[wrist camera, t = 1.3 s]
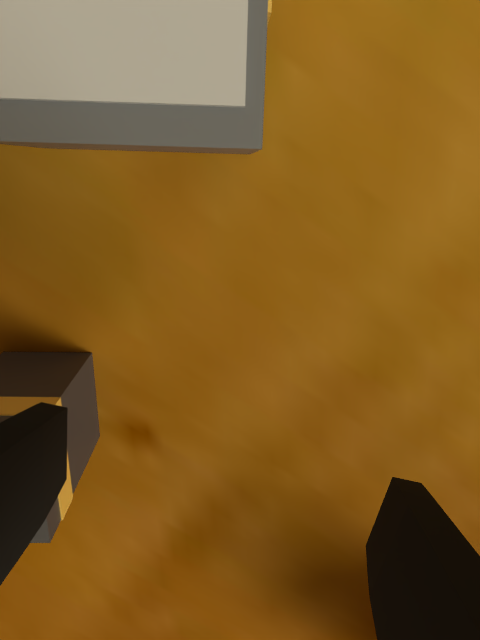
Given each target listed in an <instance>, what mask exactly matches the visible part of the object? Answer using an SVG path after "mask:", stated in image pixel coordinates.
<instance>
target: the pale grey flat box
mask: <svg viewBox="0 0 480 640" xmlns="http://www.w3.org/2000/svg"><path fill="white" fill-rule="evenodd" d="M271 7H272V0H0V144H7V145H18V146H29V147H39V148H57V149H91V150H125V151H159V152H194V153H228V154H252V153H254V152H256V151H259V150H261V149H262V138H263V114H264V89H265V64H266V40H267V25H268V22H269V18H270V15H271Z"/></svg>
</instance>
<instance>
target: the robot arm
mask: <svg viewBox="0 0 480 640" xmlns="http://www.w3.org/2000/svg"><path fill="white" fill-rule="evenodd" d="M67 414H68V408H67V407H62V406H58V405H53V404H48V403H44V402H40V403H38V404H36V405H34V406H32V407H30V408H28V409H26V410H24V411H22V412H20V413H18V414H16V415H14V416H12V417H10V418H8V419H6V420H4V421H2V422H1V423H0V585H1V584H2V582H3V581H4V579H5V578H6V577H7V575H8V574H9V572H10V571H11V569H12V568H13V567H14V565H15V564H16V562H17V561H18V559H19V558H20V556H21V555H22V554H23V552H24V551H25V549H26V548H27V546H28V545H29V543H30V542H31V540H32V539H33V537H34V536H35V535H36V533H37V532H38V530H39V529H40V527H41V526H42V524H43V523H44V521H45V519H46V517H47V516H48V514H49V512H50V510H51V508H52V506H53V505H54V503H55V501H56V499H57V497H58V495H59V493H60V491H61V489H62V487H63V485H64V483H65V481H66V479H67ZM366 554H367V571H368V583H369V595H370V601H371V607H372V613H373V618H374V624H375V629H376V635H377V640H480V556H479V555H478V553H477V552H476V551H475V550H474V548H473V547H472V546H471V545H470V543H469V542H468V541H467V540H466V538H465V537H464V536H463V535H462V533H461V532H460V531H459V530H458V528H457V527H456V526H455V525H454V523H453V522H452V521H451V519H450V518H449V517H448V516H447V514H446V513H445V512H444V511H443V509H442V508H441V507H440V505H439V504H438V503H437V502H436V500H435V499H434V498H433V497H432V495H431V494H430V493H429V492H428V491H427V489H426V488H425V487H424V486H423V485H422V483H419V482H414V481H409V480H404V479H400V478H395V477H392V480H391V482H390V485H389V487H388V490H387V492H386V495H385V498H384V500H383V503H382V505H381V508H380V510H379V513H378V516H377V518H376V521H375V523H374V526H373V528H372V531H371V534H370V536H369V539H368V541H367V544H366Z"/></svg>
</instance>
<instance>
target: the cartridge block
mask: <svg viewBox="0 0 480 640" xmlns="http://www.w3.org/2000/svg"><path fill="white" fill-rule="evenodd" d="M40 402H44V403H48V404H53V405H58V406H62V407H67V408H68V414H67V479H66V481H65V483H64V485H63V487H62V489H61V491H60V493H59V495H58V497H57V499H56V501H55V503H54V505H53V506H52V508H51V510H50V512H49V514H48V516H47V517H46V519H45V521H44V523H43V524H42V526H41V527H40V529H39V530H38V532H37V533H36V535H35V536H34V537H33V539H32V540H31V542H30V543H50V542H51V540H52V538H53V536H54V533H55V531H56V529H57V527H58V525H59V523H60V521H61V520H63V518H64V516H65V514H66V512H67V510H68V507H69V505H70V503H71V501H72V499H73V493H74V490H75V488H76V486H77V484H78V482H79V480H80V478H81V475H82V473H83V471H84V469H85V467H86V465H87V463H88V460H89V458H90V456H91V454H92V452H93V450H94V447H95V445H96V443H97V441H98V439H99V437H100V433H99V422H98V411H97V401H96V390H95V379H94V369H93V358H92V353H77V352H2V353H1V354H0V423H1V422H2V421H4V420H6V419H8V418H10V417H12V416H14V415H16V414H18V413H20V412H22V411H24V410H26V409H28V408H30V407H32V406H34V405H36V404H38V403H40Z"/></svg>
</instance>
